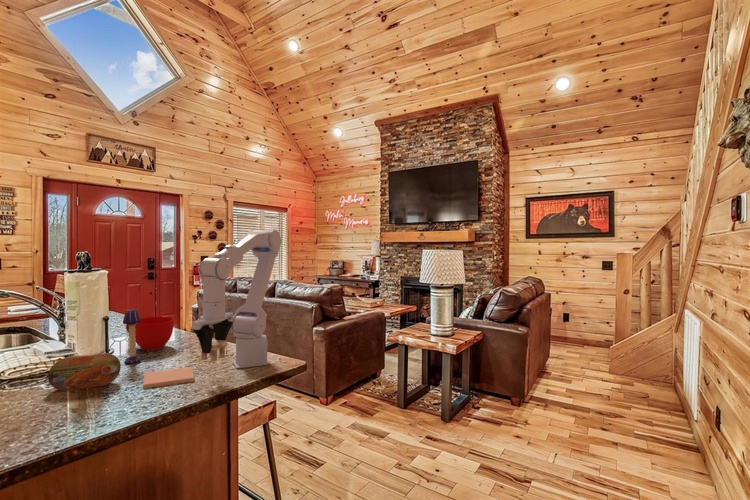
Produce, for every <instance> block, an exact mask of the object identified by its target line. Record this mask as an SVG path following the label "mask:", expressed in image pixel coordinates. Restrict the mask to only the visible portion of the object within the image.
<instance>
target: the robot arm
mask: <svg viewBox="0 0 750 500" xmlns="http://www.w3.org/2000/svg"><path fill="white" fill-rule="evenodd" d="M281 238H282V237H281V234H280V232H279V231H278V230H277V229H273V230H272V229H250V230H249V231H247V232H246V235H245V237H244V238H242V239H241V240H240V241H239V242H238V243H237V244H235V245H233V244H227V245H225V246H224V248H223V249H222V250H221V251H219V252H216V253H215V254H214V256H212V257H206V258H204V259H203V260H202V261H201V262H200V264H199V267H198V268H197V271H198V274H199V276H200V280H201V285H202V315H200V316H199V318H198V319H197V320H194V321H192V322H191V329H192V330H193V332H194V333H195V335H196V337H197V339H198V341H199V345H201V353H202V352H203V353H207V354H209V353H210V352H211V347H212V339H213V338H214V340H222V341H227V340H226V339H227V337H228V334H229V333H230V331H231V333H233V337H235V359H232V360H231V361H232V363H233V365H234V366H235V368H236V369H246V368H251V367H258V366H267V365H268V364H269V363H268V337H267V335H266V334H264V333H265V331H266V328H267V317H268V314H267V312H266V311H265V310H264V308H263V307H262V306H263V303H264V301H265V296H266V293H267V291H268V290H267V289H268V285H269V282H270V279H271V276H272V271H273V268H274V265H275V261H276V258H277V257H278V256H279V252H280V248H281V244H282V239H281ZM250 251H251V252H252V254H253V256H254V257H256V259H257V263H256V266H255V270H254V273H253V276H252V278H251V283H250V286H249V289H248V293H247V295H246V299H245V303H244V304H242V305H241V306H239V307H237V309H236V310H235V313H234V312H228V311H227V312H226V286H227V285H226V281H227V280H226V279H228V278H229V277H230V274H231V272H232V270H233V268H234V267H235V266H236V265H238V264H239V263H240V262H242V261H243V260H244V259H243V258H244V255H245V254H247V253H248V252H250ZM211 326H212V327H211Z"/></svg>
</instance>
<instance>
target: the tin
mask: <svg viewBox="0 0 750 500" xmlns="http://www.w3.org/2000/svg"><path fill="white" fill-rule="evenodd" d="M121 364H122V363H121V362H120V359H119V358H118V357H117V356H116V354H115V355H114V354H112V353H109V352H108V353H107V352H100V353H99V352H98V353H92V354H82V355H73V356H71V355H69V356H66V357H63V358H61V359H59V360H58V361H56V362H55V363H53V365H52V366H51V367H50V369H49V370H48V374H47V380H48V382H49V384H50V386H51V387H52V388H54V389H55V390H58V391H62V392H63V391H64V392H67V391H74V390H75V391H77V390H83V389H89V388H98V387H104V386H107V385H110V384H111V383H113V382H114V381H115V380H116V379H117V378H118V376H119V374H120V372H121V369H122V366H121Z"/></svg>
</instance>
